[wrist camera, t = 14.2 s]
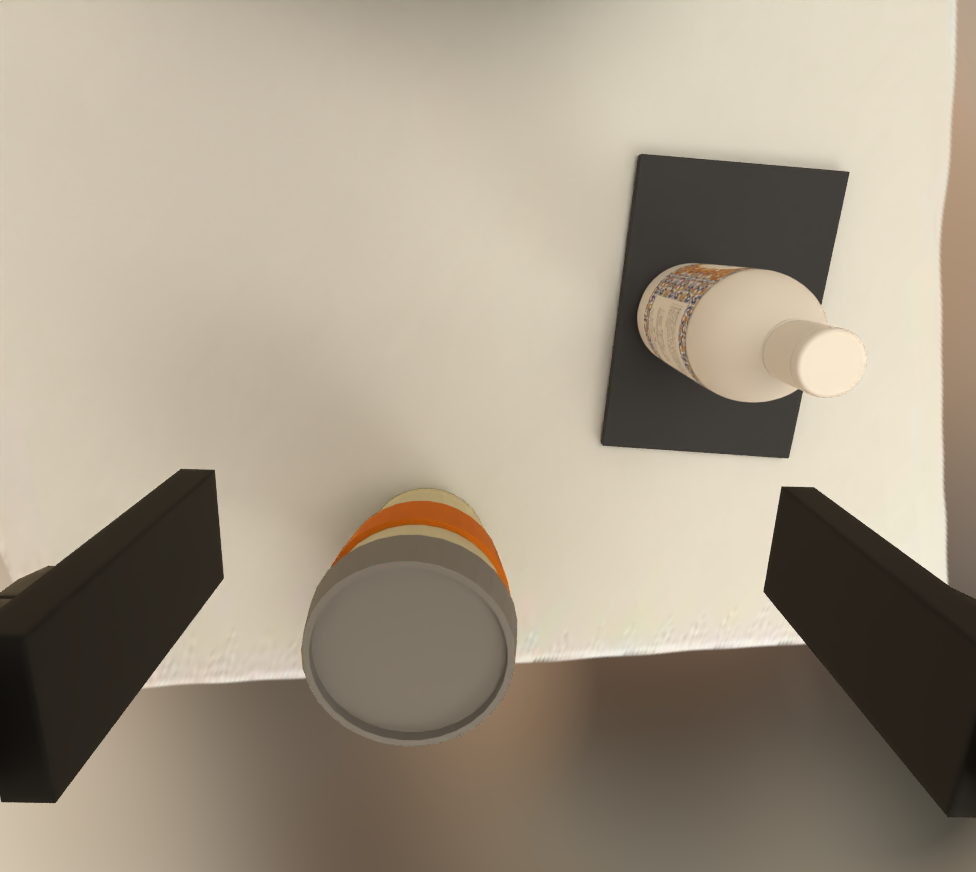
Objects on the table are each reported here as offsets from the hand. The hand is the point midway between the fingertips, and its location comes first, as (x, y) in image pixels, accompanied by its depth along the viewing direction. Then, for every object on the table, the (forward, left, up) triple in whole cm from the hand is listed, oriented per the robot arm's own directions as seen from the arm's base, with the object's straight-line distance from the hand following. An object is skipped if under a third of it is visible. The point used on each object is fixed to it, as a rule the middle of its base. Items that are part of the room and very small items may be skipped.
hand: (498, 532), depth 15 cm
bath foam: (-3, +14, -33) cm, 35 cm away
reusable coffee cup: (+16, -3, -33) cm, 37 cm away
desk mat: (-3, +16, -33) cm, 37 cm away
